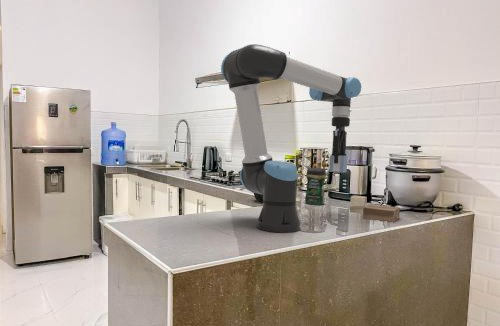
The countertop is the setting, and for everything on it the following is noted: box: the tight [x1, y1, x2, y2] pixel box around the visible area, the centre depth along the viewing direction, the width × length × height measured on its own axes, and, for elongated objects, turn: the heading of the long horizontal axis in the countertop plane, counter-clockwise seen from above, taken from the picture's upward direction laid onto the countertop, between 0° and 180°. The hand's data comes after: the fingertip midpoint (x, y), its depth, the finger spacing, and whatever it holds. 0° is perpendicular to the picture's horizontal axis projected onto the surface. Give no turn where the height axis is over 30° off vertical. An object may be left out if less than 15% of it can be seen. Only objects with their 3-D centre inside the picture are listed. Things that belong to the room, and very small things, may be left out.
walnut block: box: [362, 204, 401, 223], centre depth 164 cm, size 12×12×5 cm
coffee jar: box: [304, 167, 327, 206], centre depth 199 cm, size 10×8×19 cm
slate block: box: [328, 154, 348, 174], centre depth 168 cm, size 6×6×7 cm
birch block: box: [349, 195, 368, 214], centre depth 179 cm, size 6×6×7 cm
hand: (338, 170), depth 168 cm, fingers closed on slate block, 6 cm apart
